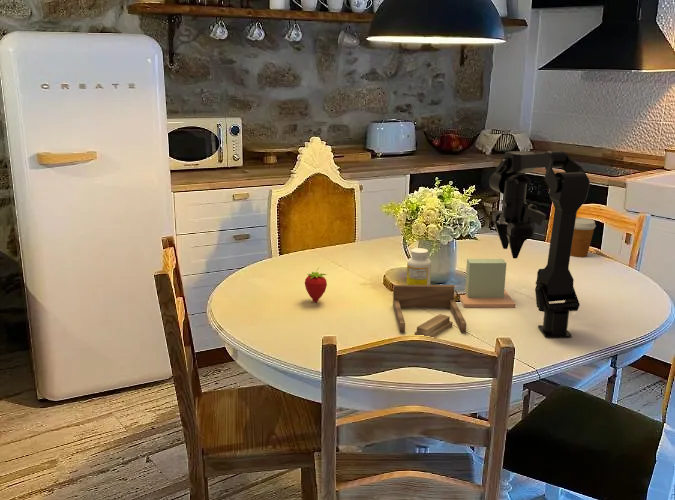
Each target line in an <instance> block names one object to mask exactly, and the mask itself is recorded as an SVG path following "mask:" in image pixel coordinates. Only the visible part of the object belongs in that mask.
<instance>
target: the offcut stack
mask: <svg viewBox="0 0 675 500" xmlns="http://www.w3.org/2000/svg"><path fill="white" fill-rule="evenodd" d="M450 319H451V316H449V315H446V314H442V313H439V314H437V315H435V316H434V317H432V318H430V319H429V320H427V321H425V322H423V323H422V324H420V325H418V326H416V331H415V332H414V335H424V336H432V337H434V336H437V335H438V334H440V333H441V332H444V331H446V330H448V329H449V328H452V327H453V324H454V323H453V321H451V320H450ZM439 332H440V333H439ZM433 335H434V336H433Z"/></svg>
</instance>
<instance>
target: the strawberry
mask: <svg viewBox="0 0 675 500" xmlns="http://www.w3.org/2000/svg"><path fill="white" fill-rule="evenodd" d="M318 270H319V268H317V269H316V271H311V273H307V276H306V278H305V280H304V285H305V286H304V287H305V290H306V292H307V294H308V295H309V297H310V298H311V300H312V302H314V303H318V301H319V300H320V299H321V298H322V297H323V295H324V294H325V292H326V289H327V286H328V283H327V282H328V281H327V279H326V277H325V276H326V275H328V273H327V274H326V273H319V272H318Z"/></svg>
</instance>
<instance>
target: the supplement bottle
mask: <svg viewBox="0 0 675 500" xmlns="http://www.w3.org/2000/svg"><path fill="white" fill-rule="evenodd" d="M410 254H411V257H410V258H408V259H407V265H406V266H407V268H406V285H431V275H432V272H431V271H432V270H431V269H432V261H431V259H429V258H428V256H429V250H428V249H426V248H420V247H417V248H412V249H411V250H410Z"/></svg>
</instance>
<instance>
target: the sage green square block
mask: <svg viewBox="0 0 675 500" xmlns="http://www.w3.org/2000/svg"><path fill="white" fill-rule="evenodd" d="M465 271H466V272H465V284H464V287H465V292H466V296H467V297H468V298H504V289H505V285H506V273H507V262H506V261H505V260H504V258H466V269H465Z"/></svg>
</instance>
